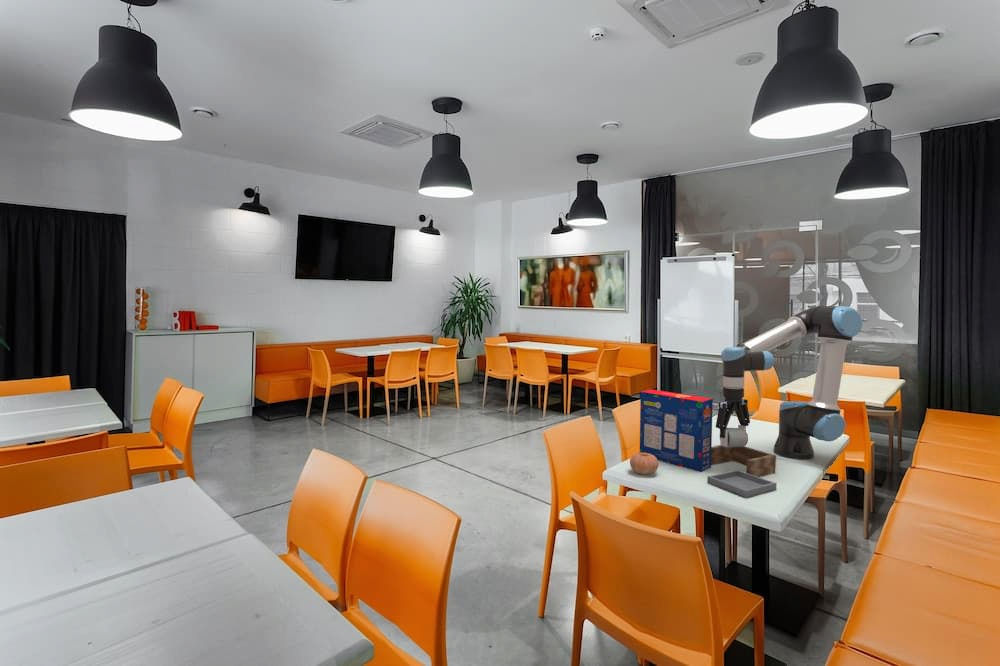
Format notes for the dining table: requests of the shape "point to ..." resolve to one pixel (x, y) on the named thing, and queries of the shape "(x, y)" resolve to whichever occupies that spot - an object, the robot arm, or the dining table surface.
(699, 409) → the pasta box
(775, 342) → the robot arm
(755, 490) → the tray
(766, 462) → the bay
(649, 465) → the orange ribbed round gourd
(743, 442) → the ceramic mug
